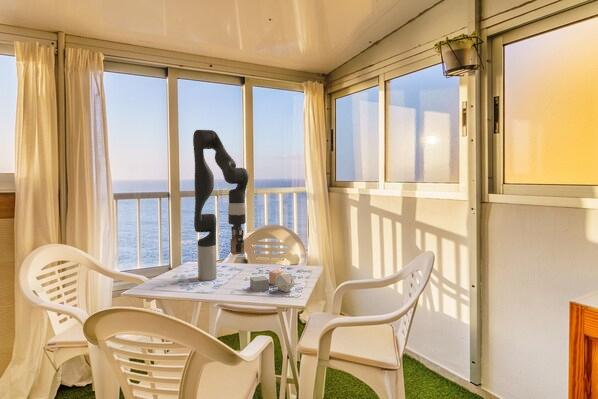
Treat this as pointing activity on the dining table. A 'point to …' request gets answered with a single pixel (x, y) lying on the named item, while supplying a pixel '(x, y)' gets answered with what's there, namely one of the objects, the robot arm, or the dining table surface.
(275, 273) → the terracotta block
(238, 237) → the robot arm
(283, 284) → the die
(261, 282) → the slate block
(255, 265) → the dining table surface
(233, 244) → the walnut block
